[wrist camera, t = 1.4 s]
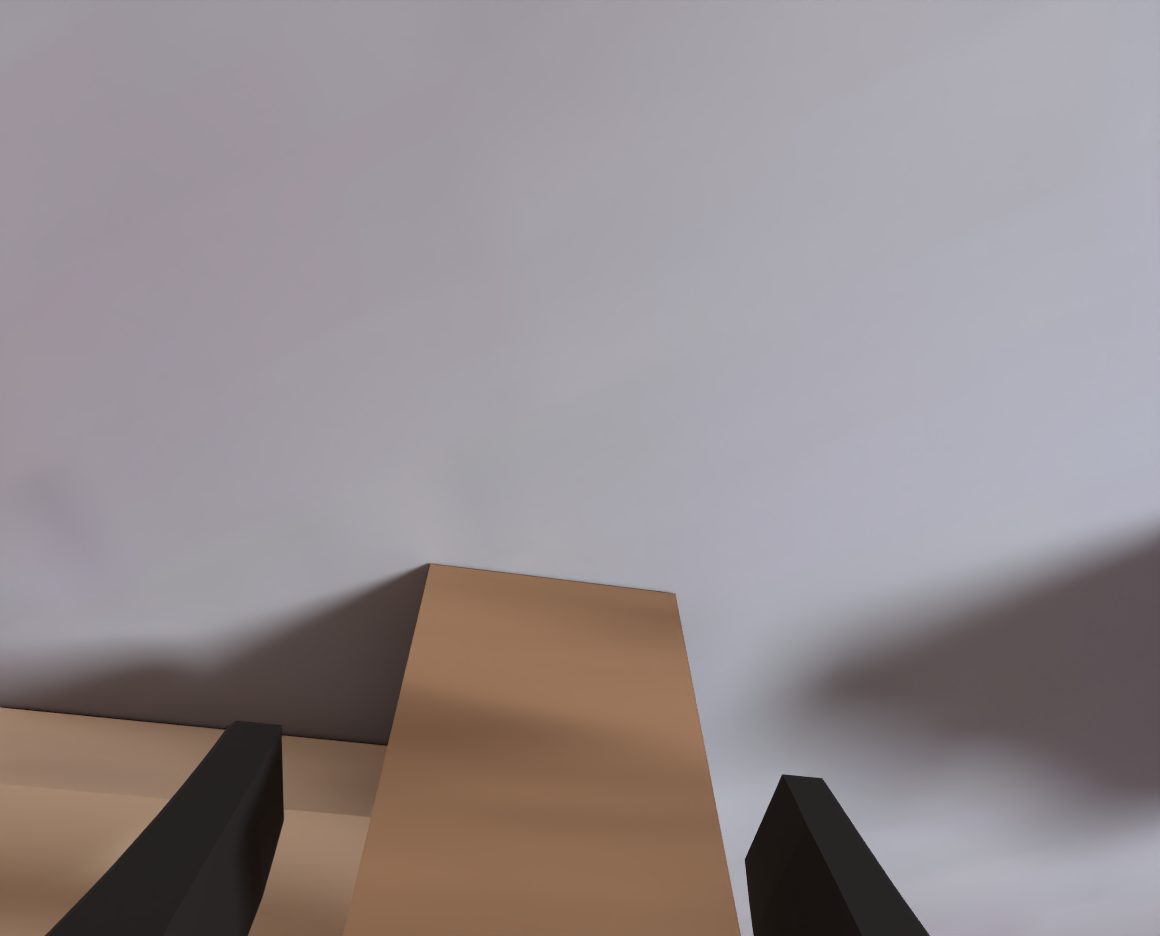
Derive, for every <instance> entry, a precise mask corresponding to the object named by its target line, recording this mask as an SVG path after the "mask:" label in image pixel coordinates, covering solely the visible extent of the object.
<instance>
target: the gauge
mask: <svg viewBox="0 0 1160 936" xmlns="http://www.w3.org/2000/svg"><path fill="white" fill-rule="evenodd" d="M343 936H741V934H740V929H739V923H738V918H737V913H736V908H735V903H734V897H733V892H732V887H731V882H730V877H729V871H728V866H727V861H726V856H725V850H724V845H723V840H722V835H721V830H720V824H719V819H718V814H717V809H716V804H715V798H714V793H713V788H712V783H711V777H710V772H709V767H708V762H707V757H706V751H705V746H704V741H703V736H702V731H701V725H700V720H699V715H698V710H697V704H696V699H695V694H694V689H693V684H692V678H691V673H690V668H689V663H688V658H687V652H686V647H685V642H684V637H683V631H682V626H681V621H680V616H679V611H678V605H677V600H676V595H675V594H673V593H665V592H656V591H648V590H640V589H632V588H624V587H615V586H607V585H599V584H591V583H583V582H574V581H566V580H558V579H550V578H542V577H533V576H525V575H517V574H509V573H500V572H492V571H484V570H476V569H468V568H459V567H451V566H443V565H435V564H430V568H429V572H428V576H427V580H426V585H425V589H424V593H423V597H422V602H421V606H420V610H419V614H418V619H417V623H416V627H415V631H414V636H413V640H412V644H411V648H410V653H409V657H408V661H407V665H406V670H405V674H404V678H403V682H402V687H401V691H400V695H399V699H398V704H397V708H396V712H395V716H394V721H393V725H392V729H391V733H390V738H389V742H388V746H387V750H386V755H385V759H384V763H383V767H382V772H381V776H380V780H379V784H378V789H377V793H376V797H375V801H374V806H373V810H372V814H371V818H370V823H369V827H368V831H367V835H366V840H365V844H364V848H363V852H362V857H361V861H360V865H359V869H358V874H357V878H356V882H355V886H354V891H353V895H352V899H351V903H350V908H349V912H348V916H347V920H346V925H345V929H344V933H343Z"/></svg>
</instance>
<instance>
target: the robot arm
mask: <svg viewBox="0 0 1160 936" xmlns="http://www.w3.org/2000/svg"><path fill="white" fill-rule="evenodd" d="M283 822H284V801H283V763H282V725H272V724H261V723H251V722H241V721H236V722H234V723H232V724H231V725H229V726H228V727H227V728H226V730H225V731H224V732H223V734H222V735H221V736H220V738H219V739H218V740H217V742H216V743H215V744H214V746H213V747H212V748H211V750H210V751H209V752H208V753H207V755H206V756H205V757H204V759H203V760H202V761H201V762H200V764H199V765H198V766H197V768H196V769H195V770H194V771H193V773H192V774H191V775H190V776H189V777H188V779H187V780H186V781H185V782H184V784H183V785H182V786H181V787H180V788H179V790H178V791H177V792H176V793H175V794H174V796H173V797H172V798H171V799H170V800H169V802H168V803H167V804H166V805H165V806H164V808H163V809H162V810H161V811H160V812H159V813H158V815H157V816H156V817H155V818H154V819H153V820H152V821H151V823H150V824H149V825H148V826H147V827H146V828H145V829H144V830H143V832H142V833H141V834H140V835H139V836H138V837H137V838H136V839H135V841H134V842H133V843H132V844H131V845H130V846H129V847H128V849H127V850H126V851H125V852H124V853H123V854H122V855H121V856H120V858H119V859H118V860H117V861H116V862H115V863H114V864H113V865H112V866H111V868H110V869H109V870H108V871H107V872H106V873H105V874H104V875H103V876H102V877H101V878H100V879H99V880H98V881H97V882H96V883H95V884H94V885H93V887H92V888H91V889H90V890H89V891H88V892H87V893H86V894H85V895H84V896H83V897H82V898H81V899H80V900H79V901H78V902H77V903H76V904H75V905H74V906H73V907H72V908H71V909H70V910H69V911H68V912H67V913H66V915H65V916H64V917H63V918H62V919H61V920H60V921H59V922H58V923H57V924H56V925H55V926H54V927H53V928H52V929H51V930H50V931H49V932H48V933H47V934H46V935H45V936H248V934H249V931H250V929H251V926H252V924H253V921H254V919H255V916H256V913H257V911H258V908H259V905H260V903H261V900H262V897H263V894H264V891H265V887H266V884H267V880H268V876H269V873H270V869H271V866H272V862H273V859H274V855H275V851H276V848H277V844H278V840H279V837H280V833H281V829H282V826H283ZM745 866H746V875H747V885H748V895H749V903H750V911H751V919H752V927H753V935H754V936H930V935H929V934H928V932H927V931H926V930H925V928H924V927H923V925H922V924H921V923H920V921H919V920H918V918H917V917H916V916H915V914H914V913H913V911H912V910H911V909H910V907H909V906H908V904H907V903H906V902H905V900H904V899H903V897H902V896H901V895H900V893H899V892H898V890H897V889H896V887H895V886H894V884H893V883H892V882H891V880H890V879H889V877H888V876H887V874H886V873H885V871H884V870H883V868H882V867H881V865H880V864H879V862H878V861H877V860H876V858H875V857H874V855H873V854H872V852H871V851H870V849H869V848H868V846H867V845H866V843H865V842H864V840H863V839H862V837H861V836H860V834H859V833H858V831H857V830H856V828H855V827H854V825H853V824H852V822H851V821H850V819H849V818H848V816H847V815H846V813H845V812H844V810H843V808H842V807H841V805H840V804H839V802H838V801H837V799H836V798H835V796H834V795H833V793H832V792H831V790H830V789H829V788H828V786H827V785H826V783H825V782H824V780H823V779H822V778H813V777H803V776H793V775H783V774H782V776H781V779H780V781H779V783H778V786H777V788H776V790H775V792H774V795H773V797H772V799H771V801H770V804H769V806H768V808H767V811H766V813H765V815H764V817H763V820H762V822H761V824H760V826H759V829H758V831H757V833H756V836H755V838H754V840H753V842H752V845H751V847H750V849H749V851H748V854H747V856H746V858H745Z"/></svg>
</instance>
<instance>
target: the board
mask: <svg viewBox="0 0 1160 936" xmlns="http://www.w3.org/2000/svg"><path fill="white" fill-rule="evenodd" d="M224 731H225V730H222V729H212V728H202V727H192V726H181V725H171V724H161V723H151V722H141V721H131V720H121V719H111V718H100V717H90V716H80V715H70V714H60V713H50V712H40V711H30V710H19V709H9V708H0V936H45V935H46V934H47V933H48V932H49V931H50V930H51V929H52V928H53V927H54V926H55V925H56V924H57V923H58V922H59V921H60V920H61V919H62V918H63V917H64V916H65V915H66V913H67V912H68V911H69V910H70V909H71V908H72V907H73V906H74V905H75V904H76V903H77V902H78V901H79V900H80V899H81V898H82V897H83V896H84V895H85V894H86V893H87V892H88V891H89V890H90V889H91V888H92V887H93V885H94V884H95V883H96V882H97V881H98V880H99V879H100V878H101V877H102V876H103V875H104V874H105V873H106V872H107V871H108V870H109V869H110V868H111V866H112V865H113V864H114V863H115V862H116V861H117V860H118V859H119V858H120V856H121V855H122V854H123V853H124V852H125V851H126V850H127V849H128V847H129V846H130V845H131V844H132V843H133V842H134V841H135V839H136V838H137V837H138V836H139V835H140V834H141V833H142V832H143V830H144V829H145V828H146V827H147V826H148V825H149V824H150V823H151V821H152V820H153V819H154V818H155V817H156V816H157V815H158V813H159V812H160V811H161V810H162V809H163V808H164V806H165V805H166V804H167V803H168V802H169V800H170V799H171V798H172V797H173V796H174V794H175V793H176V792H177V791H178V790H179V788H180V787H181V786H182V785H183V784H184V782H185V781H186V780H187V779H188V777H189V776H190V775H191V774H192V773H193V771H194V770H195V769H196V768H197V766H198V765H199V764H200V762H201V761H202V760H203V759H204V757H205V756H206V755H207V753H208V752H209V751H210V750H211V748H212V747H213V746H214V744H215V743H216V742H217V740H218V739H219V738H220V736H221V735H222V734H223V732H224ZM386 750H387V746H384V745H374V744H364V743H354V742H343V741H333V740H323V739H313V738H303V737H293V736H283V735H282V763H283V801H284V822H283V826H282V829H281V833H280V837H279V840H278V844H277V848H276V851H275V855H274V859H273V862H272V866H271V869H270V873H269V876H268V880H267V884H266V887H265V891H264V894H263V897H262V900H261V903H260V905H259V908H258V911H257V913H256V916H255V919H254V921H253V924H252V926H251V929H250V931H249V934H248V936H343V933H344V929H345V925H346V920H347V916H348V912H349V908H350V903H351V899H352V895H353V891H354V886H355V882H356V878H357V874H358V869H359V865H360V861H361V857H362V852H363V848H364V844H365V840H366V835H367V831H368V827H369V823H370V818H371V814H372V810H373V806H374V801H375V797H376V793H377V789H378V784H379V780H380V776H381V772H382V767H383V763H384V759H385V755H386Z"/></svg>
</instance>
